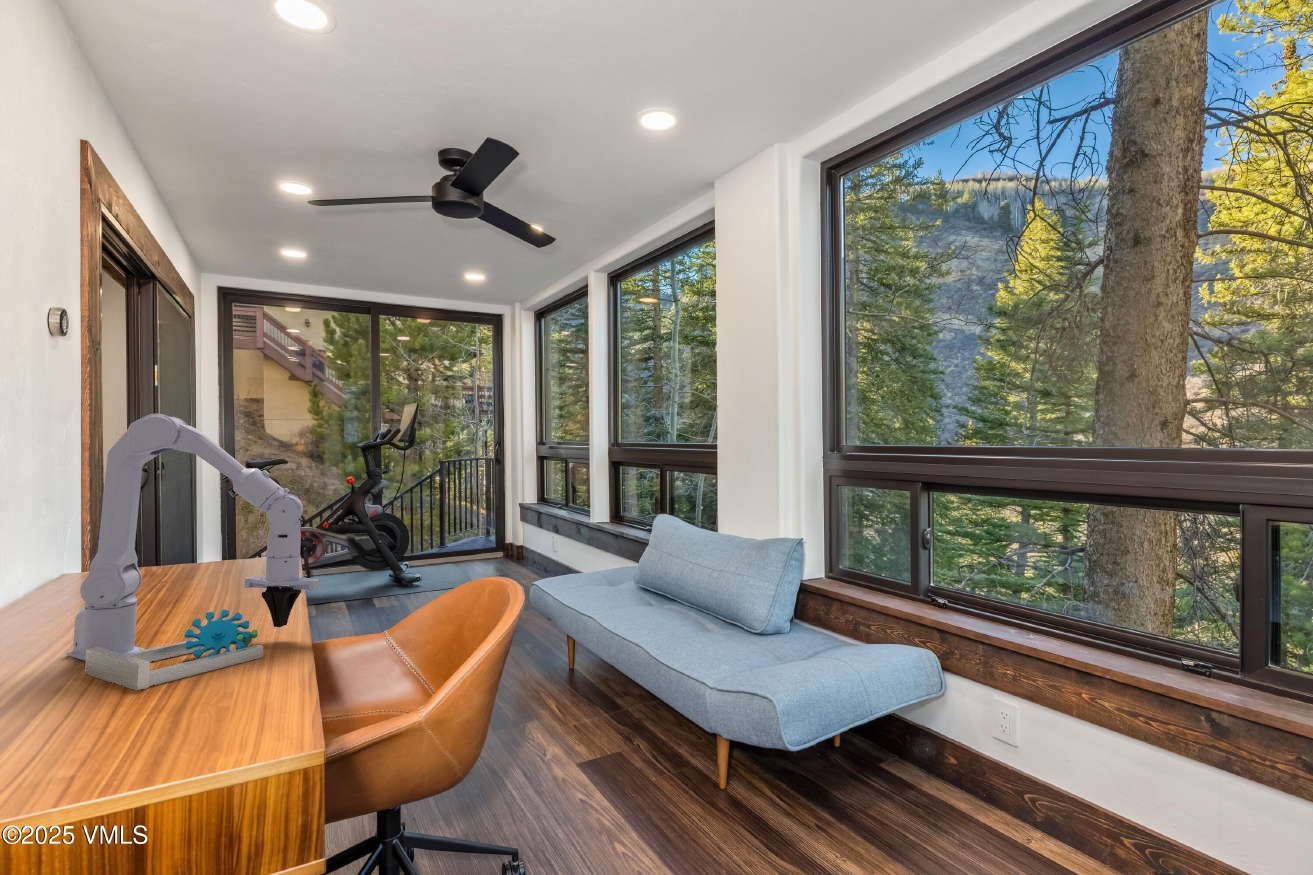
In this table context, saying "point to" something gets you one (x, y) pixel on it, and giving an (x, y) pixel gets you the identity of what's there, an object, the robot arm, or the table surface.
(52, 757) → the table surface
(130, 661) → the rail dock
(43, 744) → the table surface
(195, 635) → the gear
